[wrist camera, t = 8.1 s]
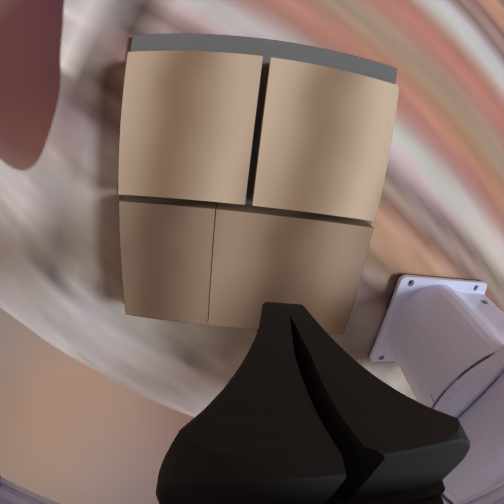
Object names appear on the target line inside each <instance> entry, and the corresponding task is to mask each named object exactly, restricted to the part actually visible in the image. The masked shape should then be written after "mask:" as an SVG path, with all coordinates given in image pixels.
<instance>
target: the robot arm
mask: <svg viewBox="0 0 504 504" xmlns="http://www.w3.org/2000/svg"><path fill="white" fill-rule="evenodd" d="M410 280H412V281H411V283H410V284H408V282H409V281H410ZM486 289H487V284H486V283H485V282H484V281H475V280H463V279H452V278H440V277H429V276H417V275H406V274H405V275H402V276H400V277H399V279H398V281H397V284H396V287H395V290H394V293H393V296H392V299H391V302H390V305H389V307H388V310H387V313H386V316H385V318H384V321H383V324H382V326H381V329H380V331H379V334H378V337H377V339H376V342H375V344H374V346H373V349H372V351H371V354H370V359H371V361H372V362H392V361H397V363H398V364H399V366H400V368H401V370H402V372H403V374H404V376H405V378H406V380H407V382H408V384H409V386H410V388H411V390H412V392H413V394H414V396H415V398H416V400H417V401H415V400H413V399H411V398H409V397H407V396H405V395H404V394H402V393H400V392H398V391H397V390H395V389H393V388H392V387H390V386H389V385H387V384H386V383H384V382H382V381H381V380H380V379H378V378H377V377H375V376H374V375H373V374H371V373H370V372H369V371H367V370H366V369H365V368H364V367H362V366H361V365H360V364H359V363H357V362H356V361H355V360H354V359H353V358H352V357H350V356H349V355H348V354H347V353H346V352H345V351H344V350H343V349H342V348H341V347H340V346H339V345H338V344H337V343H336V342H335V341H334V340H333V339H332V338H331V337H330V336H329V335H328V334H327V332H326V331H325V330H324V329H323V328H322V327H321V326H320V325H319V323H318V322H317V321H316V320H315V319H314V318H313V317H312V315H311V314H310V313H309V312H308V311H307V309H306V308H305V307H304V306H303V305H302V304H289V303H276V302H265V303H264V304H262V310H261V316H260V323H259V329H258V332H257V335H256V337H255V340H254V342H253V344H252V346H251V348H250V350H249V352H248V354H247V356H246V357H245V359H244V361H243V362H242V364H241V366H240V367H239V369H238V370H237V372H236V373H235V374H234V376H233V377H232V378H231V380H230V381H229V383H228V384H227V385H226V386H225V388H224V389H223V390H222V391H221V392H220V393H219V394H218V395H217V397H216V398H215V399H214V400H213V401H212V402H211V403H210V404H209V405H208V406H207V407H206V408H205V409H204V410H203V411H202V412H201V413H200V414H198V415H197V416H196V417H195V418H194V419H193V420H191V422H189V423H188V424H187V425H185V426H184V427H183V428H182V429H181V430H180V431H179V433H178V434H177V436H176V438H175V439H174V441H173V443H172V444H171V446H170V448H169V450H168V452H167V454H166V456H165V458H164V460H163V463H162V465H161V468H160V471H159V475H158V482H157V489H156V496H157V499H158V501H159V504H504V313H503V312H502V311H501V310H500V309H498V308H497V307H496V306H495V305H494V304H493V303H492V302H491V301H490V300H489V299H488V298H487V297H486V296H485V295H484V293H485V291H486ZM380 356H381V357H380ZM0 504H59V503H57V502H55V501H52V500H49V499H47V498H45V497H43V496H40V495H38V494H36V493H33V492H31V491H29V490H27V489H25V488H23V487H20V486H18V485H16V484H14V483H12V482H10V481H8V480H6V479H5V478H3V477H1V476H0Z"/></svg>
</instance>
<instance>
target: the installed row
mask: <svg viewBox="0 0 504 504" xmlns="http://www.w3.org/2000/svg"><path fill="white" fill-rule="evenodd" d="M119 223H120V250H121V267H122V281H123V293H124V303H125V313H126V315H132V316H139V317H146V318H153V319H161V320H169V321H177V322H185V323H193V324H202V325H207V324H208V325H212V326H222V327H232V328H244V329H256V330H258V329H259V323H260V316H261V310H262V304H264V303H265V302H276V303H289V304H302V305H303V306H304V307H305V308H306V309H307V311H308V312H309V313H310V314H311V315H312V317H313V318H314V319H315V320H316V321H317V322H318V323H319V325H320V326H321V327H322V328H323V329H324V330H325V331H326V332H327V334H343V333H344V330H345V327H346V324H347V321H348V318H349V315H350V312H351V308H352V305H353V302H354V299H355V295H356V292H357V288H358V285H359V282H360V278H361V275H362V271H363V267H364V264H365V260H366V256H367V252H368V249H369V245H370V241H371V237H372V233H373V229H374V228H373V227H372V226H371V225H370V224H369V223H368V222H367V221H366V220H362V219H355V218H347V217H340V216H333V215H325V214H318V213H310V212H302V211H294V210H286V209H277V208H268V207H259V206H252V204H245V205H241V204H231V203H221V202H210V201H199V200H188V199H176V198H163V197H150V196H136V195H127V196H126V197H124V198H123V199H122V200H120V201H119ZM208 318H209V319H208Z"/></svg>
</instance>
